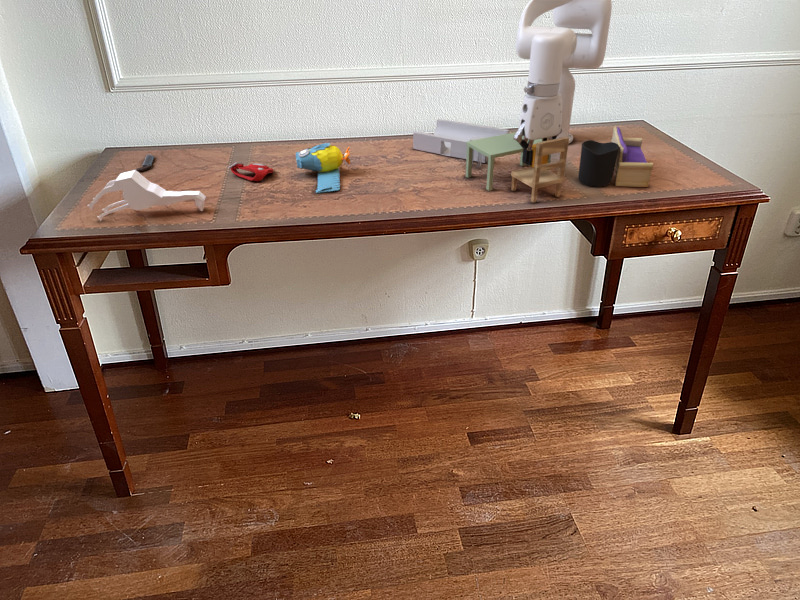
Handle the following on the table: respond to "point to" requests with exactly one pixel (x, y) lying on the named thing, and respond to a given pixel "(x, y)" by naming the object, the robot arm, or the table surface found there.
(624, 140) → the toy sofa
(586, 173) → the pen holder
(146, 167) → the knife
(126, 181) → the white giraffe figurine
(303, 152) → the blue yellow toy fish
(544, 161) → the block
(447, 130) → the grey storage tray
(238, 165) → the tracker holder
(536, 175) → the chair
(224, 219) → the table surface
